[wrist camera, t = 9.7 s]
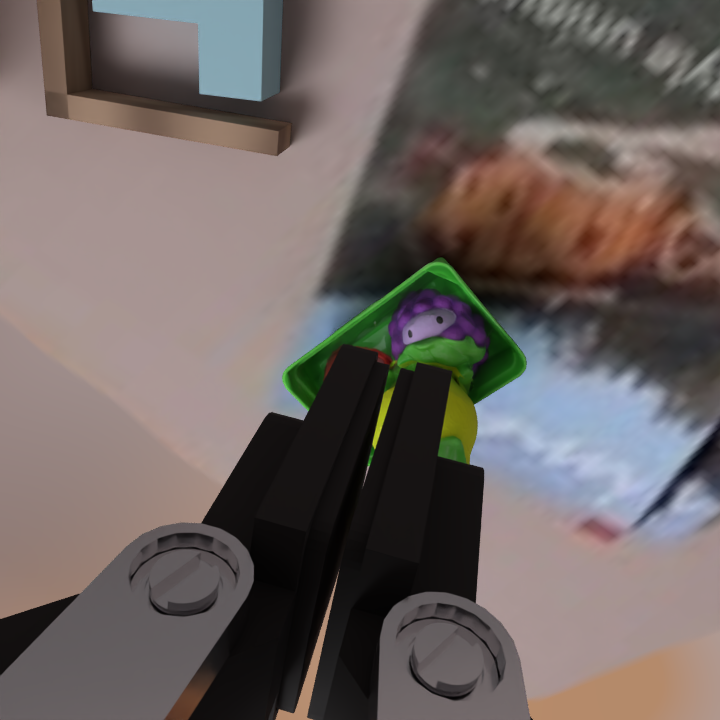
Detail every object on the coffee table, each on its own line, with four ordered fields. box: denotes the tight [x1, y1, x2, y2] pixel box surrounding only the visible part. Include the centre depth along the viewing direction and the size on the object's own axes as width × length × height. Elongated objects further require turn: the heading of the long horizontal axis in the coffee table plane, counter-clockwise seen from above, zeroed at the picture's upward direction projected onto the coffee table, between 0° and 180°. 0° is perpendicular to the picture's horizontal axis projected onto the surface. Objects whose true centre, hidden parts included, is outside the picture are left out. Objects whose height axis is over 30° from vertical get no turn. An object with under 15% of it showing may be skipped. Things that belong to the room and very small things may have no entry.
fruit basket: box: [282, 257, 527, 466], centre depth 35 cm, size 11×9×11 cm
